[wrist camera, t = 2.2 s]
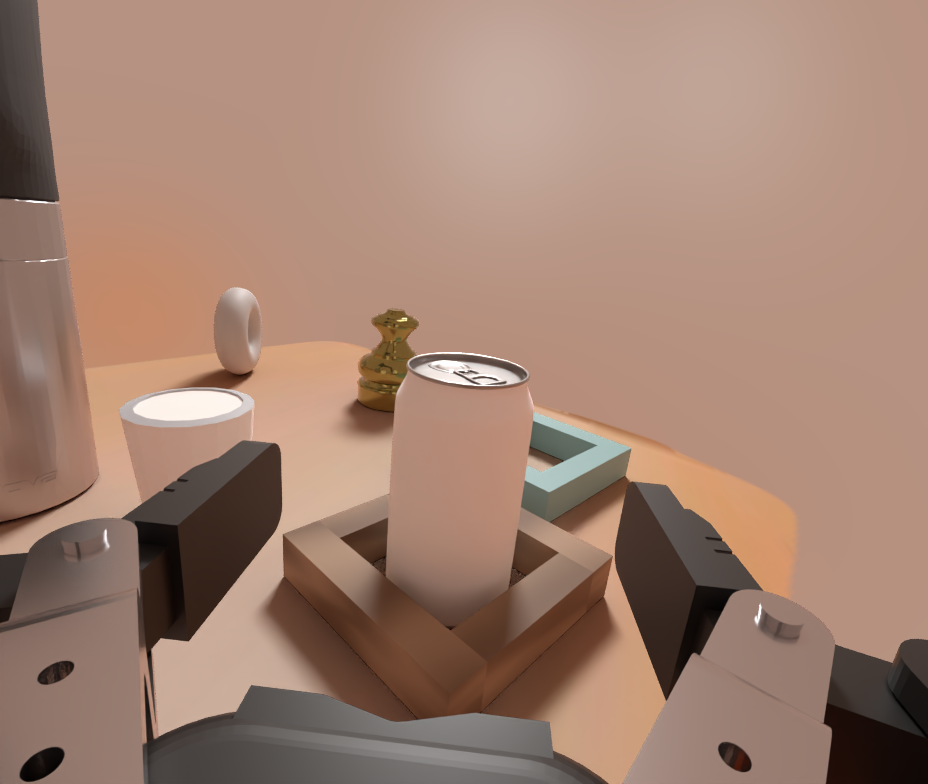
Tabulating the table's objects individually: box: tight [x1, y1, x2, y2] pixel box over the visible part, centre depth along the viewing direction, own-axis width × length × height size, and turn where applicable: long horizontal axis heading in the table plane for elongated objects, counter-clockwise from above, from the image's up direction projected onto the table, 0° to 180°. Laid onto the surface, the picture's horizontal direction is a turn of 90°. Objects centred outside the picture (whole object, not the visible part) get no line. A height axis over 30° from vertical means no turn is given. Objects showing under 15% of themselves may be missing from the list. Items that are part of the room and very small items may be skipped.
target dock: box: [521, 412, 631, 522], centre depth 40 cm, size 12×12×2 cm
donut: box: [214, 287, 262, 375], centre depth 56 cm, size 10×4×10 cm, turn 9°
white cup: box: [119, 388, 255, 503], centre depth 29 cm, size 7×7×7 cm
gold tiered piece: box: [357, 308, 419, 411], centre depth 51 cm, size 7×7×10 cm
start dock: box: [283, 494, 613, 720], centre depth 25 cm, size 12×12×2 cm
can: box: [386, 353, 534, 628], centre depth 24 cm, size 6×6×12 cm
